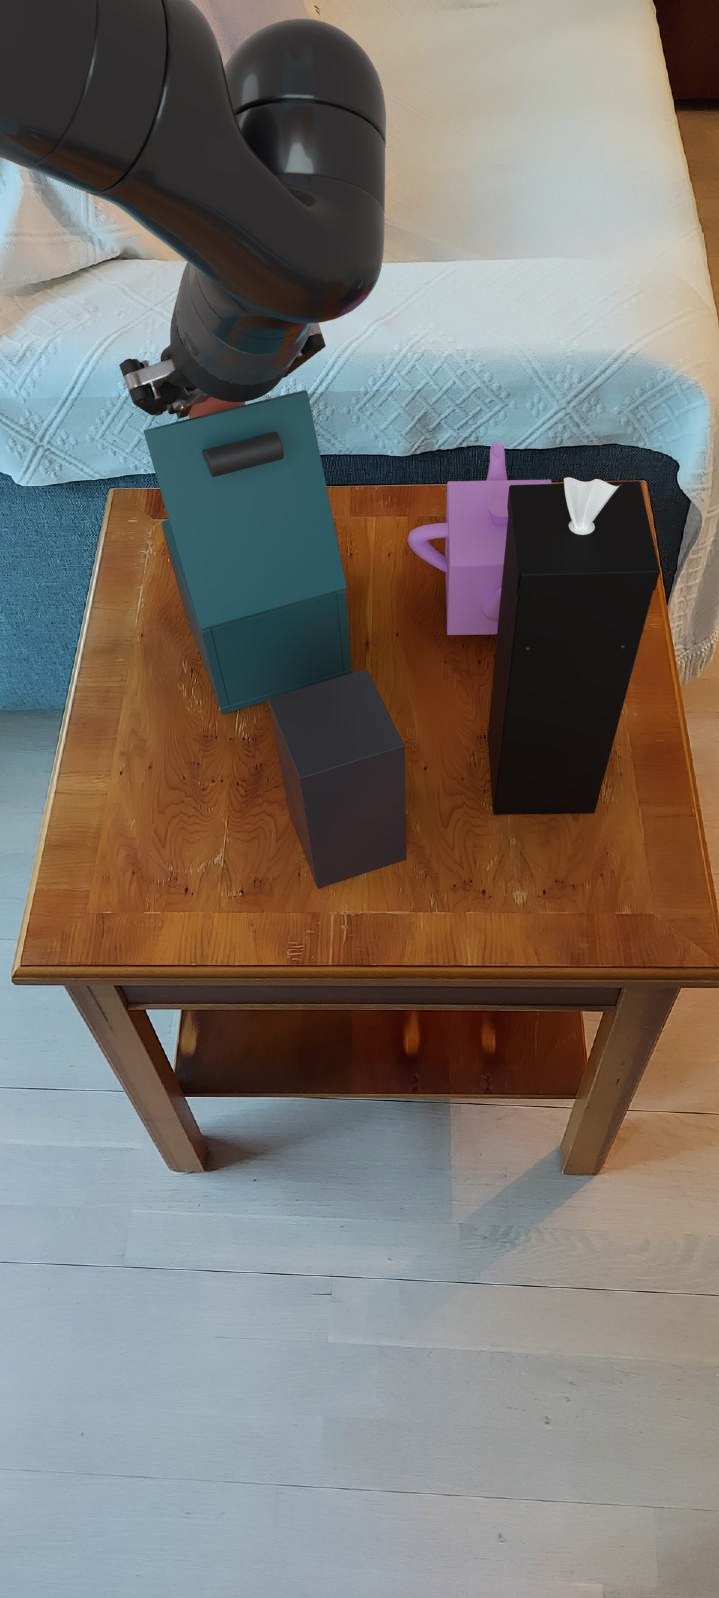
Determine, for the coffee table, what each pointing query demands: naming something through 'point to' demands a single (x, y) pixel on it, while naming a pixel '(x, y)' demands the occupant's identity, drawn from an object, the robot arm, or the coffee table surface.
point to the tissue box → (566, 640)
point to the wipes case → (269, 645)
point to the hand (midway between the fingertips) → (207, 394)
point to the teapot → (472, 547)
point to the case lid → (248, 507)
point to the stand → (342, 776)
